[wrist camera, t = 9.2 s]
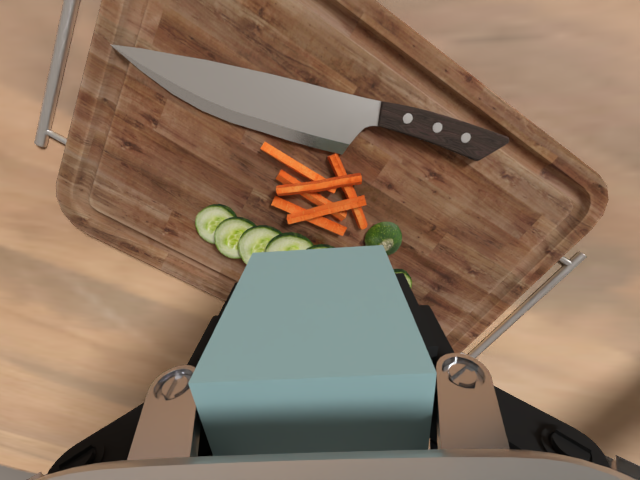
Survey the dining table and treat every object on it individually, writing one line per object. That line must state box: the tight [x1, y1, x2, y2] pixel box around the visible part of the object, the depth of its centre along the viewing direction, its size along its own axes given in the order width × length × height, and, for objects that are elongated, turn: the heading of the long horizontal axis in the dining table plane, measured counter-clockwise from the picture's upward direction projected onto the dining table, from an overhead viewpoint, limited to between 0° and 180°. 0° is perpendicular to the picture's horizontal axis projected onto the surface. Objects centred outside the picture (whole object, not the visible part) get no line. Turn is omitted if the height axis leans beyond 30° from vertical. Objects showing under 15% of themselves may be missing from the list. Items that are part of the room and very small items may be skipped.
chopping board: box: [34, 0, 608, 358], centre depth 25 cm, size 45×27×3 cm, turn 59°
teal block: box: [188, 245, 437, 456], centre depth 10 cm, size 5×5×6 cm
